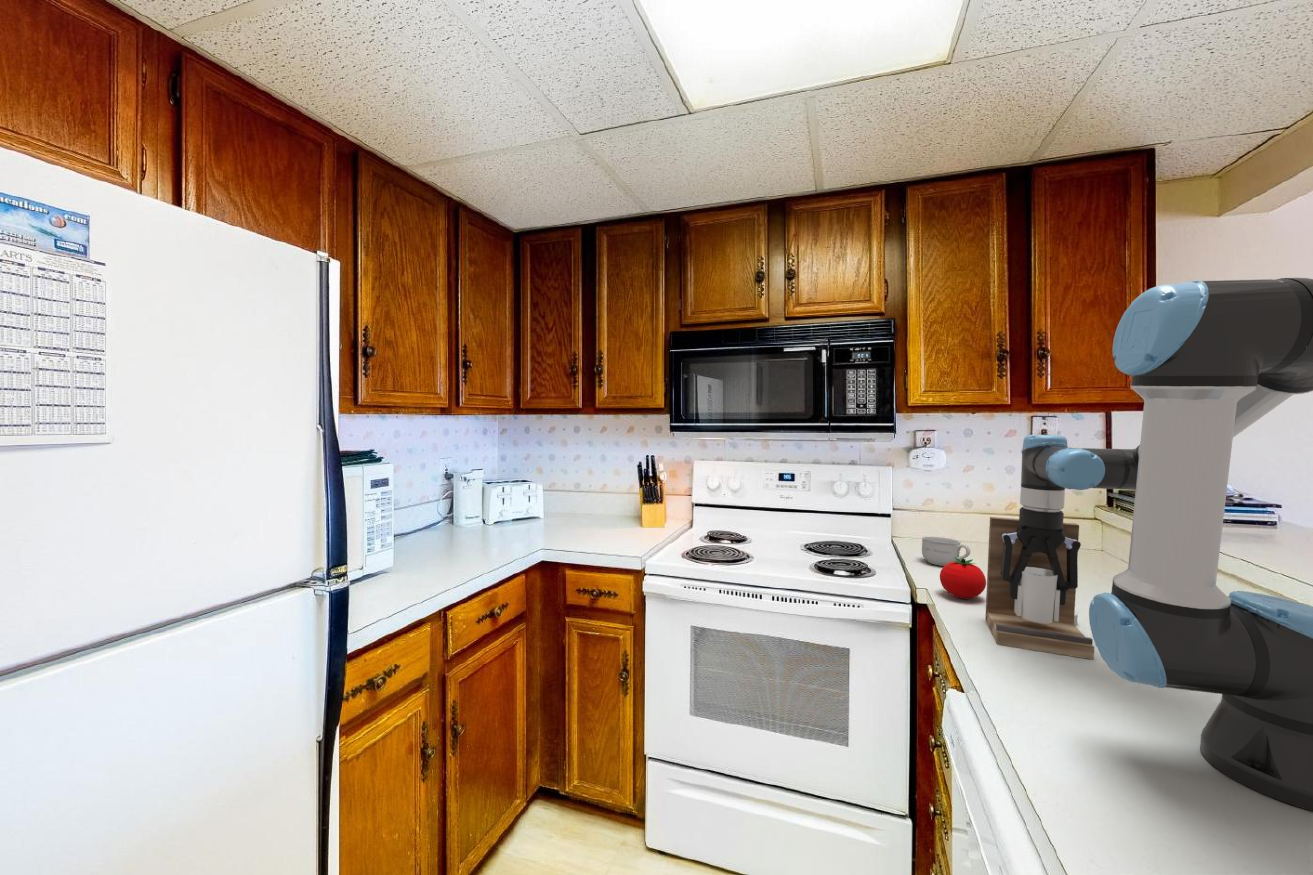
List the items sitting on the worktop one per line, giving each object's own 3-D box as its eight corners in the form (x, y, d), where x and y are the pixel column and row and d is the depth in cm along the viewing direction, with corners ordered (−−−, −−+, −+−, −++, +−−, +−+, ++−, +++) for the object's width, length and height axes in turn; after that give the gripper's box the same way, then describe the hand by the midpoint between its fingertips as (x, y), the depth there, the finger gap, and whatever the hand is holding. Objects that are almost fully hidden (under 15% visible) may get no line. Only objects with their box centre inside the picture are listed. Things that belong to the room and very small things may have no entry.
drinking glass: (1062, 621, 111) (1065, 574, 110) (1041, 626, 108) (1044, 578, 108) (1030, 610, 117) (1032, 565, 116) (1009, 614, 114) (1011, 568, 114)
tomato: (929, 592, 140) (931, 555, 140) (958, 588, 144) (960, 552, 143) (965, 606, 130) (966, 566, 130) (995, 601, 134) (996, 562, 134)
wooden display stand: (1093, 659, 103) (1100, 537, 102) (997, 644, 109) (1002, 529, 108) (1070, 631, 116) (1076, 523, 115) (985, 619, 122) (989, 516, 121)
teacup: (913, 561, 170) (914, 536, 170) (936, 557, 175) (937, 533, 174) (953, 573, 157) (954, 546, 157) (977, 569, 162) (978, 543, 162)
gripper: (1090, 509, 111) (1084, 617, 112) (986, 502, 118) (981, 603, 120) (1104, 515, 104) (1097, 630, 105) (992, 507, 111) (987, 615, 113)
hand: (1035, 616), depth 112 cm, fingers closed on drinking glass, 6 cm apart
